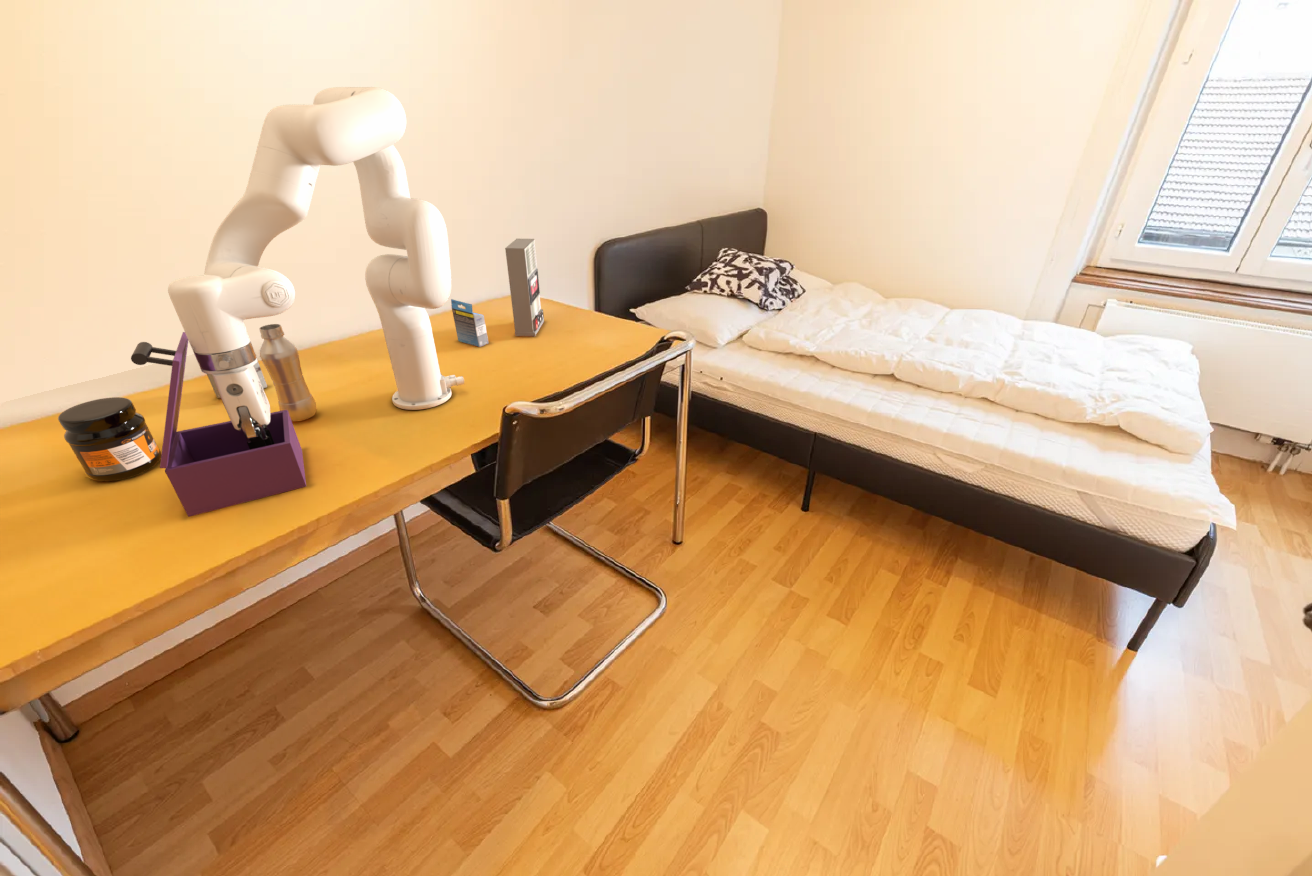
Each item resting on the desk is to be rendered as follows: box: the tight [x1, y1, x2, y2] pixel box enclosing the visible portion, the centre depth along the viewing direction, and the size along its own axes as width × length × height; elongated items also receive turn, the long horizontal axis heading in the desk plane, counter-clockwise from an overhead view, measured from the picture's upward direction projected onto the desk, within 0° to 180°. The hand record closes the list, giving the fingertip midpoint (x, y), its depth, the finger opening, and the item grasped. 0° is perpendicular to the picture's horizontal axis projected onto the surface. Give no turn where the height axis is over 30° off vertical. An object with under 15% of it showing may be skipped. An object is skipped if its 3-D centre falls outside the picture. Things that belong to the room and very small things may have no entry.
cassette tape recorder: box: [504, 238, 545, 338], centre depth 163 cm, size 14×6×25 cm, turn 179°
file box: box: [164, 410, 307, 517], centre depth 96 cm, size 17×14×9 cm
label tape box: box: [450, 298, 490, 348], centre depth 155 cm, size 9×4×12 cm, turn 58°
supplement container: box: [57, 396, 162, 482], centre depth 98 cm, size 10×10×12 cm
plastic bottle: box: [259, 323, 318, 422], centre depth 114 cm, size 6×7×20 cm
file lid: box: [130, 331, 189, 469], centre depth 86 cm, size 18×14×6 cm
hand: (265, 454), depth 98 cm, fingers closed
